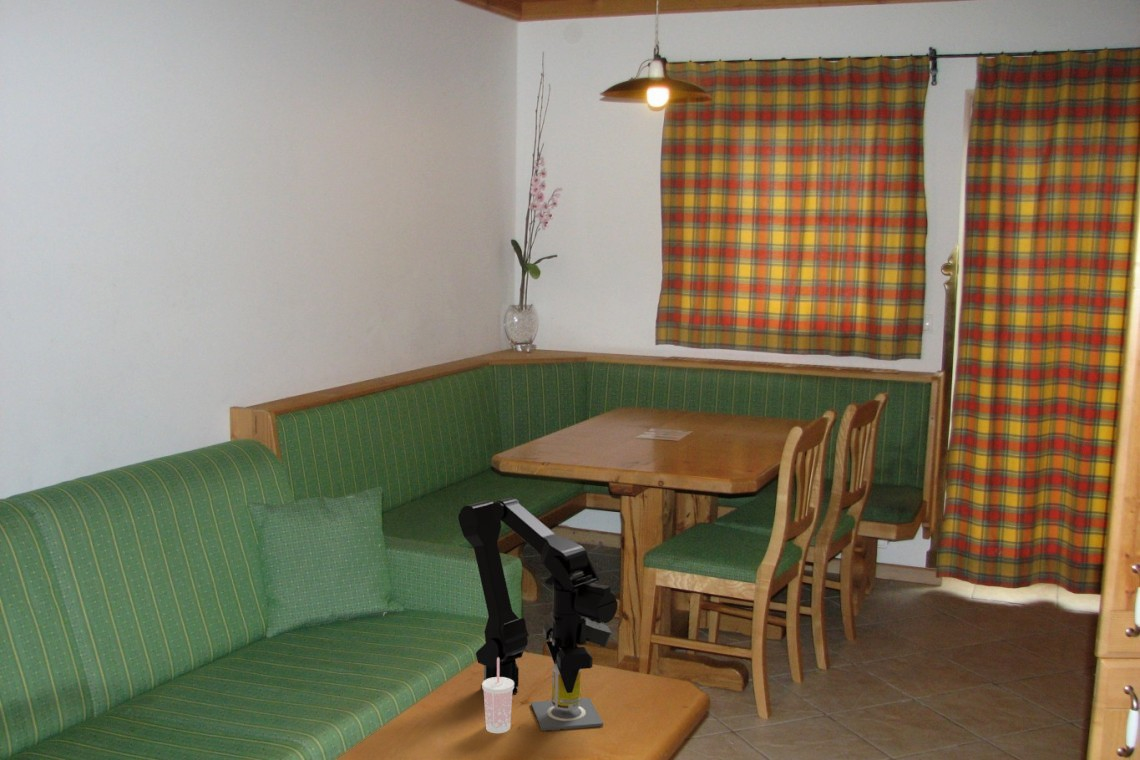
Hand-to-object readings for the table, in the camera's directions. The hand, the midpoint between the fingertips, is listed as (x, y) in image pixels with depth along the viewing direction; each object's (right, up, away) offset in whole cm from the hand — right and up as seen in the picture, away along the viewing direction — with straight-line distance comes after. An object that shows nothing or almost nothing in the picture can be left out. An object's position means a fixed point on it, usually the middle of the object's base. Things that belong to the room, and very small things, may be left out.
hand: (566, 686), depth 216 cm
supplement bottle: (0, -4, +1) cm, 4 cm away
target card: (0, -6, +1) cm, 6 cm away
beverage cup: (-13, -7, -5) cm, 16 cm away
